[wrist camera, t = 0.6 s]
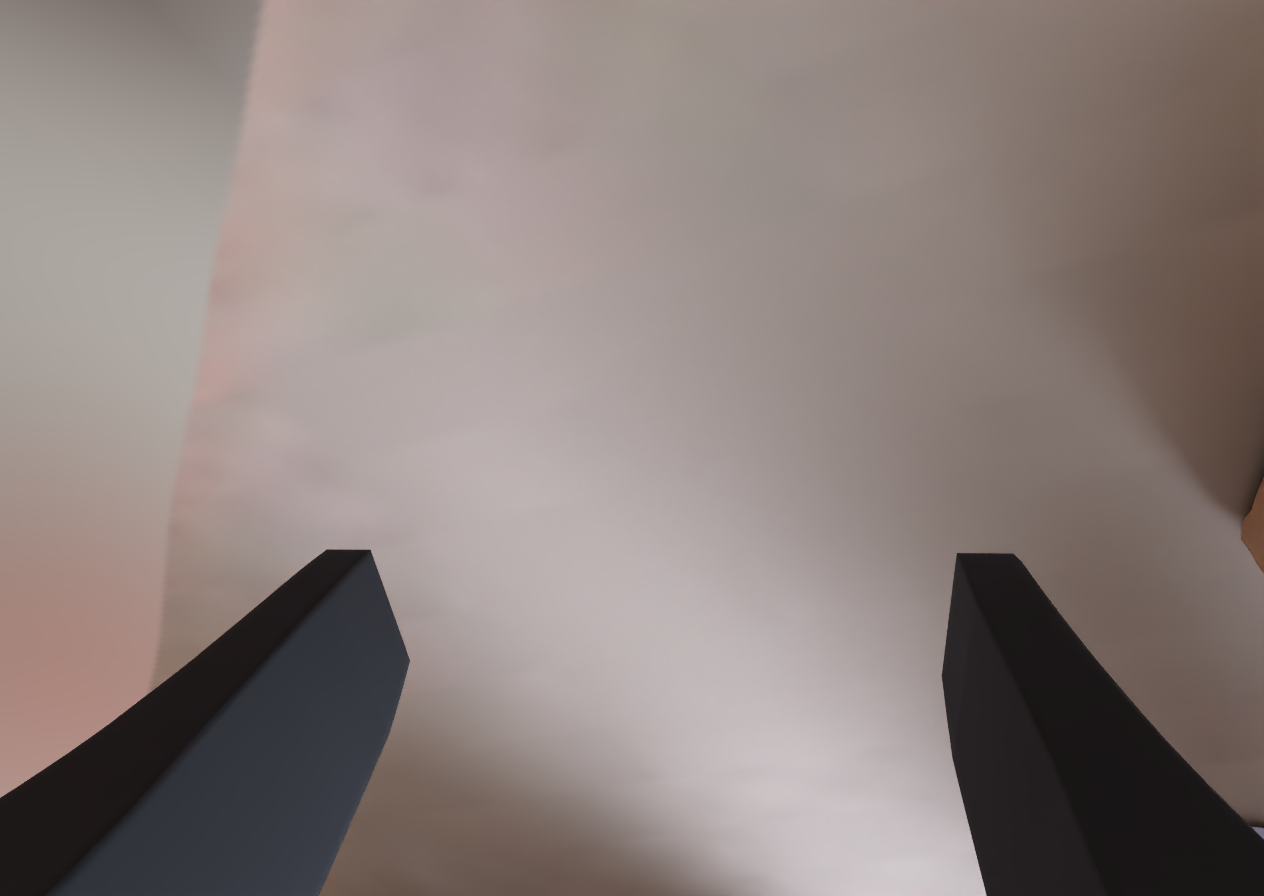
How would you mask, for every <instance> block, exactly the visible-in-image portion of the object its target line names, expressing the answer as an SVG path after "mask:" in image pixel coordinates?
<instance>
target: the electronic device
mask: <svg viewBox="0 0 1264 896" xmlns="http://www.w3.org/2000/svg"><path fill="white" fill-rule="evenodd" d="M1241 540H1242V541H1243V543H1244V544H1245V546H1246V547H1247V548H1248V550H1249V551H1250V552H1251V554H1252V556H1253V558H1254V559H1255V561H1256V563H1257V565H1258V566H1259V567H1260V569H1261V570H1262V571H1263V573H1264V478H1263V480H1262V482H1261V484H1260V487H1259V489H1258V491H1257V494H1256V496H1255V500H1254V503H1253V507H1252V510H1251V511H1250V512H1249V513H1248V515H1247V516H1246V517H1245V518H1244V520H1243V523H1242V525H1241Z"/></svg>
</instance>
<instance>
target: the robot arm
mask: <svg viewBox="0 0 1264 896" xmlns="http://www.w3.org/2000/svg"><path fill="white" fill-rule="evenodd" d="M409 663H410V659H409V656H408V654H407V651H406V648H405V645H404V642H403V640H402V637H401V634H400V631H399V628H398V626H397V623H396V620H395V617H394V614H393V612H392V609H391V606H390V603H389V600H388V598H387V595H386V592H385V589H384V586H383V584H382V581H381V578H380V575H379V572H378V570H377V567H376V564H375V561H374V558H373V556H372V553H371V550H326V551H324V552H323V553H322V554H320V555H319V556H318V557H316V558H315V559H314V560H312V561H311V562H310V563H309V564H307V565H306V566H305V567H304V568H302V569H301V570H300V571H299V572H297V573H296V574H295V575H294V576H293V577H291V578H290V579H289V580H288V581H286V582H285V583H284V584H283V585H282V586H280V587H279V588H278V589H277V590H276V591H274V592H273V593H272V594H271V595H270V596H269V597H267V598H266V599H265V600H264V601H263V602H261V603H260V604H259V605H258V606H257V607H255V608H254V609H253V610H252V611H251V612H250V613H248V614H247V615H246V616H245V617H244V618H242V619H241V620H240V621H239V622H238V623H236V624H235V625H234V626H233V627H231V628H230V629H229V630H228V631H227V632H225V633H224V634H223V635H222V636H221V637H219V638H218V639H217V640H216V641H215V642H213V643H212V644H211V645H210V646H208V647H207V648H206V649H205V650H204V651H202V652H201V653H200V654H199V655H198V656H196V657H195V658H194V659H193V660H192V661H190V662H189V663H188V664H187V665H185V666H184V667H183V668H181V669H180V670H179V671H178V672H176V673H175V674H174V675H172V676H171V677H170V678H168V679H167V680H166V681H165V682H163V683H162V684H161V685H159V686H158V687H157V688H155V689H154V690H153V691H152V692H150V693H149V694H148V695H146V696H145V697H144V698H142V699H141V700H140V701H139V702H137V703H136V704H135V705H133V706H132V707H131V708H129V709H128V710H127V711H126V712H124V713H123V714H122V715H120V716H119V717H118V718H116V719H115V720H114V721H113V722H111V723H110V724H109V725H107V726H106V727H104V728H103V729H102V730H100V731H99V732H98V733H96V734H95V735H93V736H92V737H91V738H89V739H88V740H86V741H85V742H83V743H82V744H81V745H79V746H78V747H76V748H75V749H74V750H72V751H71V752H69V753H68V754H66V755H65V756H63V757H62V758H60V759H59V760H57V761H56V762H54V763H53V764H51V765H50V766H48V767H47V768H45V769H44V770H42V771H41V772H39V773H38V774H36V775H35V776H34V777H32V778H30V779H29V780H27V781H26V782H24V783H23V784H21V785H20V786H18V787H17V788H15V789H14V790H12V791H11V792H9V793H7V794H6V795H4V796H3V797H1V798H0V896H319V894H320V891H321V889H322V887H323V885H324V882H325V880H326V878H327V875H328V873H329V871H330V869H331V866H332V864H333V862H334V860H335V857H336V855H337V853H338V851H339V848H340V846H341V844H342V841H343V839H344V837H345V835H346V832H347V830H348V828H349V826H350V823H351V821H352V819H353V816H354V814H355V812H356V810H357V807H358V805H359V803H360V801H361V798H362V796H363V794H364V792H365V789H366V787H367V785H368V782H369V780H370V778H371V775H372V773H373V771H374V768H375V766H376V764H377V761H378V759H379V757H380V754H381V752H382V750H383V747H384V745H385V742H386V740H387V738H388V735H389V732H390V729H391V726H392V723H393V719H394V716H395V713H396V710H397V706H398V703H399V700H400V696H401V692H402V689H403V685H404V681H405V677H406V674H407V670H408V666H409ZM942 681H943V689H944V697H945V705H946V713H947V721H948V728H949V735H950V743H951V750H952V757H953V762H954V766H955V770H956V774H957V778H958V783H959V787H960V791H961V795H962V799H963V803H964V807H965V811H966V815H967V819H968V823H969V827H970V831H971V835H972V839H973V843H974V847H975V851H976V855H977V859H978V863H979V867H980V871H981V875H982V879H983V883H984V887H985V891H986V895H987V896H1264V828H1261V827H1252V826H1250V825H1249V824H1248V823H1247V822H1245V821H1244V820H1243V819H1242V818H1241V817H1240V816H1239V815H1238V814H1237V813H1236V812H1235V811H1234V810H1233V809H1232V808H1231V807H1230V806H1229V805H1228V804H1227V803H1226V802H1225V801H1224V800H1223V799H1222V798H1221V797H1220V796H1219V795H1218V794H1217V793H1216V792H1215V791H1214V790H1213V789H1212V788H1211V787H1210V786H1209V785H1208V784H1207V783H1206V782H1205V781H1204V779H1203V778H1202V777H1201V776H1200V775H1199V774H1198V773H1197V772H1196V771H1195V770H1194V769H1193V768H1192V767H1191V766H1190V765H1189V764H1188V763H1187V762H1186V760H1185V759H1184V758H1183V757H1182V756H1181V755H1180V754H1179V753H1178V752H1177V751H1176V750H1175V749H1174V748H1173V747H1172V746H1171V745H1170V744H1169V743H1168V741H1167V740H1166V739H1165V738H1164V737H1163V736H1162V735H1161V734H1160V733H1159V731H1158V730H1157V729H1156V728H1155V727H1154V726H1153V725H1152V724H1151V723H1150V721H1149V720H1148V719H1147V718H1146V717H1145V716H1144V715H1143V714H1142V713H1141V711H1140V710H1139V709H1138V708H1137V707H1136V706H1135V704H1134V703H1133V702H1132V701H1131V700H1130V699H1129V697H1128V696H1127V695H1126V694H1125V693H1124V692H1123V690H1122V689H1121V688H1120V687H1119V686H1118V685H1117V683H1116V682H1115V681H1114V680H1113V679H1112V677H1111V676H1110V675H1109V674H1108V673H1107V672H1106V670H1105V669H1104V668H1103V667H1102V666H1101V665H1100V663H1099V662H1098V661H1097V660H1096V658H1095V657H1094V656H1093V655H1092V654H1091V652H1090V651H1089V650H1088V649H1087V647H1086V646H1085V645H1084V644H1083V642H1082V641H1081V640H1080V639H1079V637H1078V636H1077V635H1076V633H1075V632H1074V631H1073V630H1072V628H1071V627H1070V626H1069V625H1068V623H1067V622H1066V621H1065V619H1064V618H1063V617H1062V616H1061V614H1060V613H1059V612H1058V610H1057V609H1056V608H1055V606H1054V605H1053V604H1052V602H1051V601H1050V600H1049V598H1048V597H1047V596H1046V594H1045V593H1044V592H1043V590H1042V589H1041V588H1040V586H1039V585H1038V583H1037V582H1036V581H1035V579H1034V578H1033V577H1032V575H1031V574H1030V572H1029V571H1028V570H1027V568H1026V567H1025V565H1024V564H1023V563H1022V561H1021V560H1019V559H1018V558H1017V557H1016V556H1015V555H1014V554H999V553H957V555H956V563H955V572H954V580H953V588H952V596H951V605H950V613H949V621H948V630H947V638H946V646H945V654H944V663H943V671H942Z"/></svg>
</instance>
